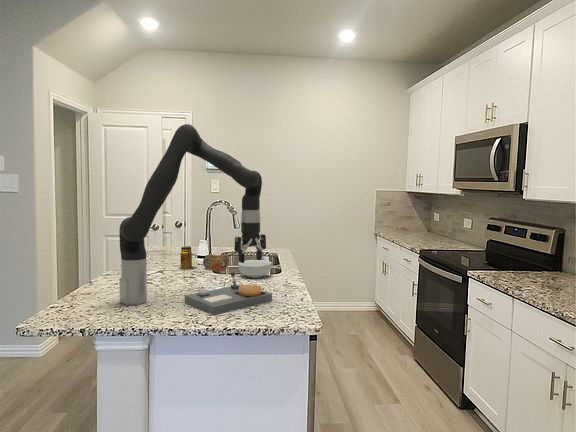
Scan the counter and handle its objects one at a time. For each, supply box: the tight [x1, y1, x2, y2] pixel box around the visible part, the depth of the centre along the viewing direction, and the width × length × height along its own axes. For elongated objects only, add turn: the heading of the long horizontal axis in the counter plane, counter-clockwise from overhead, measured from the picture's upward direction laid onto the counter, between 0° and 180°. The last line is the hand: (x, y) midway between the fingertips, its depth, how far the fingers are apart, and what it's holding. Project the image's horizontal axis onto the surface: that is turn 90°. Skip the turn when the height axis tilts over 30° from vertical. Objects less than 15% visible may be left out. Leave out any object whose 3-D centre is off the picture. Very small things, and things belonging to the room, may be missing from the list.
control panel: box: [184, 284, 273, 316], centre depth 165 cm, size 28×20×4 cm
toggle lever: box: [230, 271, 237, 285], centre depth 175 cm, size 2×2×6 cm
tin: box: [202, 254, 229, 272], centre depth 225 cm, size 15×3×8 cm, turn 62°
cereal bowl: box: [238, 259, 273, 279], centre depth 212 cm, size 17×17×7 cm
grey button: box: [198, 289, 209, 296], centre depth 164 cm, size 4×4×2 cm
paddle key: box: [203, 294, 233, 304], centre depth 157 cm, size 10×5×2 cm, turn 134°
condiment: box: [178, 245, 197, 271], centre depth 228 cm, size 7×8×12 cm
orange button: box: [239, 284, 263, 296], centre depth 167 cm, size 9×9×2 cm
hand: (250, 261), depth 166 cm, fingers open, 8 cm apart
